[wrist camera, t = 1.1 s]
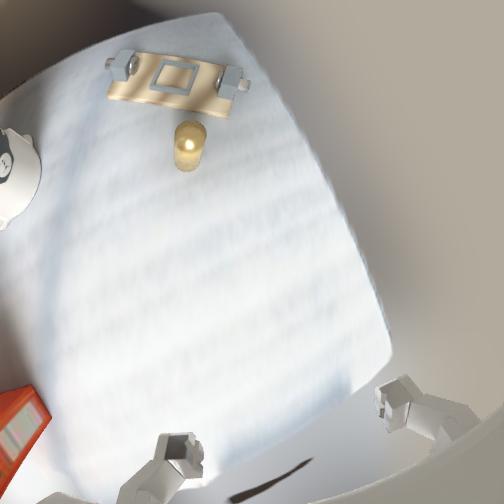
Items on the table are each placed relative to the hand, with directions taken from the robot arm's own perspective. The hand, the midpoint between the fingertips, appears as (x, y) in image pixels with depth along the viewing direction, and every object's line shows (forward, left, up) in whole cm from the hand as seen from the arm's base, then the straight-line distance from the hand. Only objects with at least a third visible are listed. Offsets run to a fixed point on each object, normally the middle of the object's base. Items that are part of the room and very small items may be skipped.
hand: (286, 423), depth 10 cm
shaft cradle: (-15, +40, -35) cm, 55 cm away
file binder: (-37, -30, -35) cm, 59 cm away
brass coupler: (-8, +24, -35) cm, 43 cm away
